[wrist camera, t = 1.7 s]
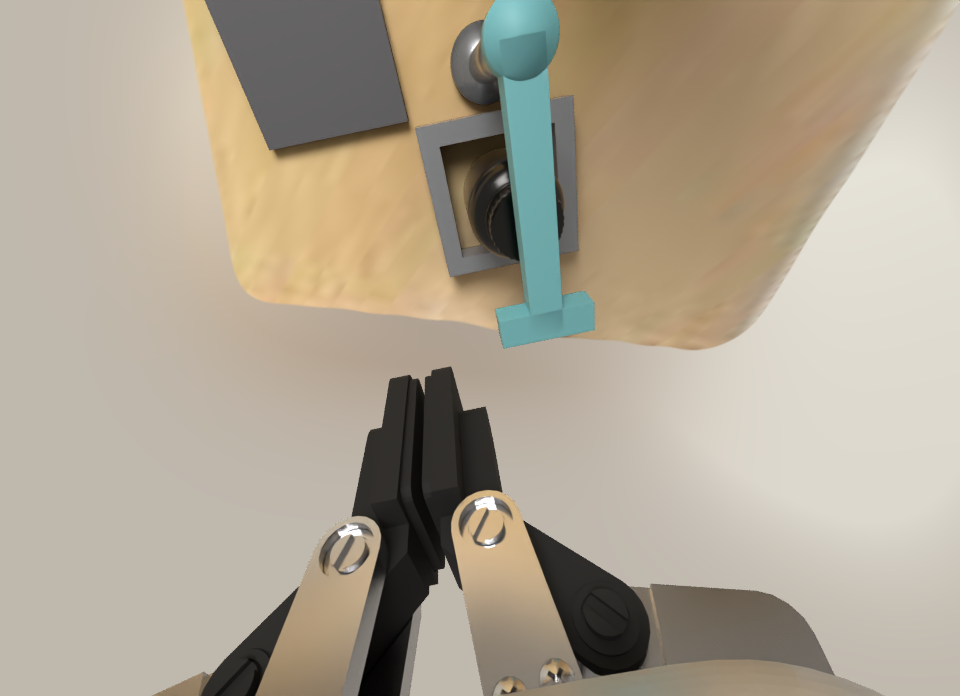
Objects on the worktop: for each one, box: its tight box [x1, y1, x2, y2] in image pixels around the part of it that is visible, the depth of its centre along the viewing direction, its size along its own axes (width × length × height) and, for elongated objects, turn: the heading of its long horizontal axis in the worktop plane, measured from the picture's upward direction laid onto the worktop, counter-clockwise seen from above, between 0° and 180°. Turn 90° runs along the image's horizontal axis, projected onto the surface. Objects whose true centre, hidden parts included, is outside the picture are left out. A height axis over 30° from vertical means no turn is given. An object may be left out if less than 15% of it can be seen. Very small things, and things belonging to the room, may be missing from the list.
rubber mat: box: [205, 0, 408, 150], centre depth 27 cm, size 11×11×1 cm
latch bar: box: [480, 0, 595, 348], centre depth 21 cm, size 17×6×2 cm, turn 10°
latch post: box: [451, 20, 500, 105], centre depth 23 cm, size 5×5×13 cm
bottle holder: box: [415, 95, 578, 277], centre depth 33 cm, size 12×12×2 cm
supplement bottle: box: [464, 149, 565, 261], centre depth 29 cm, size 7×7×12 cm
